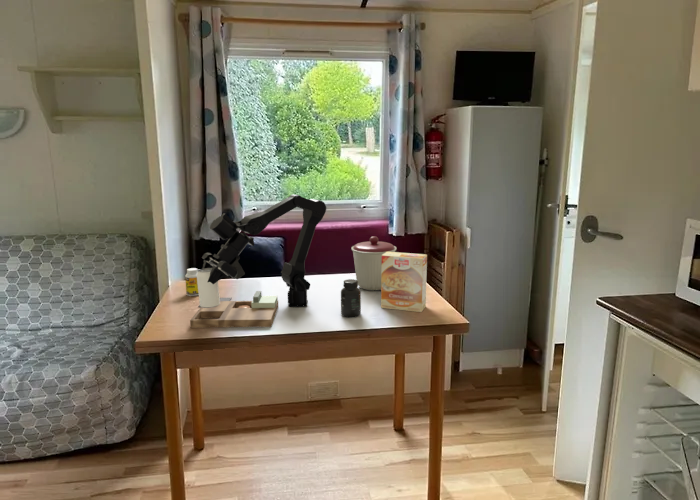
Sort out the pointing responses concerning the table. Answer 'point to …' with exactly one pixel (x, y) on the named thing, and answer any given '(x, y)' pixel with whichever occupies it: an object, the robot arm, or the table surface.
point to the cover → (263, 301)
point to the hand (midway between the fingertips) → (203, 285)
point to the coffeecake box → (403, 281)
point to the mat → (222, 300)
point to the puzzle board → (234, 316)
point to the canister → (370, 262)
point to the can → (207, 289)
